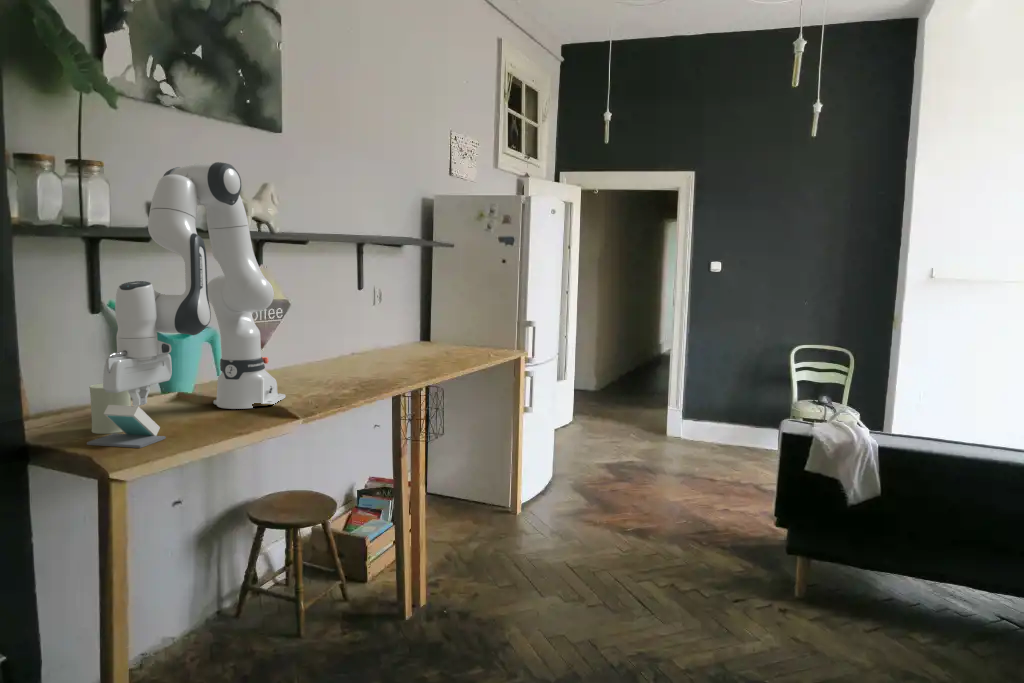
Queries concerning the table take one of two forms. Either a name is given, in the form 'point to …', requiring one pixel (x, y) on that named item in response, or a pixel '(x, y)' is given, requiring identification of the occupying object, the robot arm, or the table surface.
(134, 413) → the white box
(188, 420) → the table surface
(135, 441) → the mat
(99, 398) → the pale green cylinder
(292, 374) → the table surface
